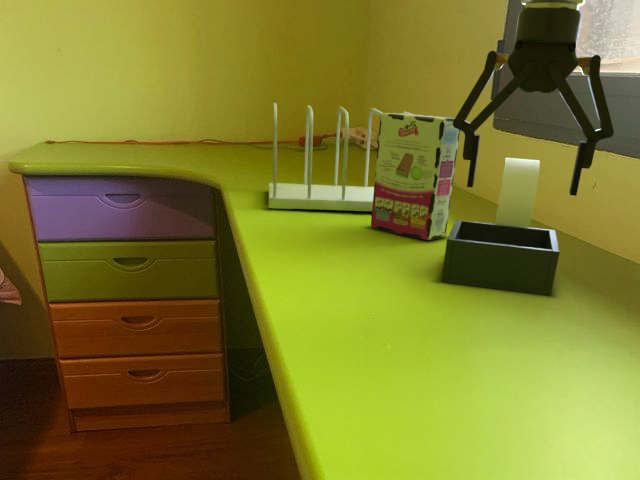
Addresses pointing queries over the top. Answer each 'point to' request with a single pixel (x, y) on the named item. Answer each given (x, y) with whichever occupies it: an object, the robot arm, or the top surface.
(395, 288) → the top surface
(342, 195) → the file sorter
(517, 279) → the tote
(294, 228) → the top surface
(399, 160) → the candy bar box
